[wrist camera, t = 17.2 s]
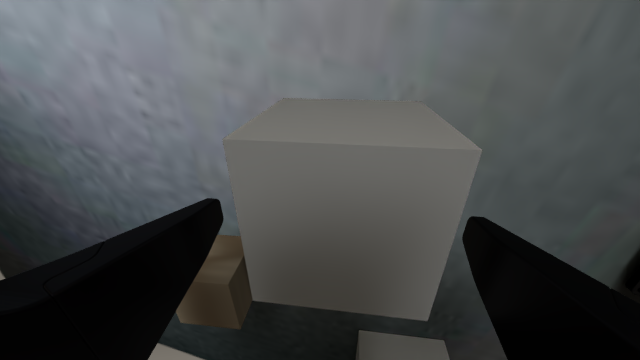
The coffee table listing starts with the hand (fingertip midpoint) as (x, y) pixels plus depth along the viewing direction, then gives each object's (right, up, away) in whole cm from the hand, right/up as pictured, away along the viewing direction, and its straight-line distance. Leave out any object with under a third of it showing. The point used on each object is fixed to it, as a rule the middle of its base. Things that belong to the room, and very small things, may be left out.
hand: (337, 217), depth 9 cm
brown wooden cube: (-7, -4, +9) cm, 12 cm away
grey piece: (+1, +2, +5) cm, 5 cm away
